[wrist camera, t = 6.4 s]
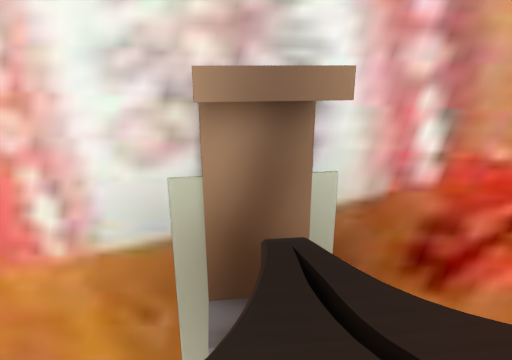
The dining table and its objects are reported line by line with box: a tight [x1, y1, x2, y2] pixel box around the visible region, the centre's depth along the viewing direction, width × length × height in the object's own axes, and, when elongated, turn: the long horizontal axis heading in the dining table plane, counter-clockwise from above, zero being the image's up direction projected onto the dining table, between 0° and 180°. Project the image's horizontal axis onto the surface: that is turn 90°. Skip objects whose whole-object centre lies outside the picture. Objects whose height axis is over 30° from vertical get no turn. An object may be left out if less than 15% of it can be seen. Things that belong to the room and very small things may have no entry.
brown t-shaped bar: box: [192, 66, 356, 355], centre depth 15 cm, size 5×17×5 cm, turn 0°
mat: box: [168, 171, 338, 360], centre depth 18 cm, size 8×12×1 cm, turn 0°
